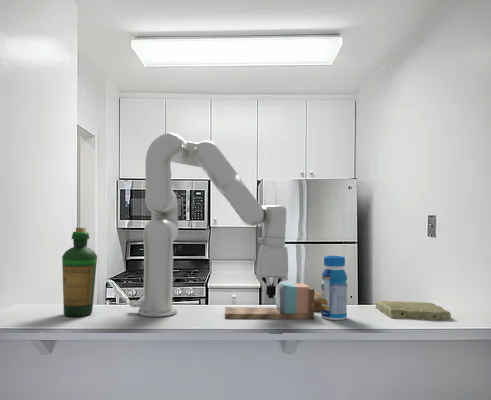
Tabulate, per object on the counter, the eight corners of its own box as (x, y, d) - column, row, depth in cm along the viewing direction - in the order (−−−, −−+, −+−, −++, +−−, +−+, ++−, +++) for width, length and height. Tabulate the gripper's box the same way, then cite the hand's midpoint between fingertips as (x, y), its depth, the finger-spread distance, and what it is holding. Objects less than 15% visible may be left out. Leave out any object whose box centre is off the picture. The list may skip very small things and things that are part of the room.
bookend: (279, 312, 140) (280, 288, 140) (276, 307, 149) (276, 284, 149) (284, 312, 140) (284, 288, 140) (280, 307, 149) (281, 284, 149)
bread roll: (324, 323, 150) (334, 302, 150) (297, 308, 152) (307, 288, 151) (323, 316, 160) (333, 297, 160) (298, 303, 161) (307, 284, 161)
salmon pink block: (296, 313, 140) (296, 287, 141) (292, 308, 148) (293, 283, 149) (308, 313, 141) (309, 287, 141) (304, 308, 149) (304, 283, 149)
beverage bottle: (341, 322, 136) (342, 258, 137) (316, 318, 141) (317, 256, 141) (350, 317, 143) (351, 256, 144) (326, 313, 148) (327, 254, 149)
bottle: (52, 317, 136) (55, 227, 137) (73, 310, 147) (76, 227, 148) (82, 319, 134) (85, 228, 135) (102, 312, 144) (104, 227, 145)
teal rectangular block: (284, 313, 140) (284, 286, 141) (281, 308, 148) (281, 283, 148) (296, 313, 140) (296, 287, 141) (292, 308, 148) (293, 283, 149)
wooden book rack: (225, 318, 138) (225, 288, 139) (225, 311, 148) (225, 283, 149) (313, 319, 140) (314, 289, 140) (308, 312, 150) (308, 284, 150)
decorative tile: (375, 308, 160) (375, 299, 160) (430, 310, 159) (430, 300, 159) (390, 320, 141) (390, 309, 141) (453, 322, 141) (453, 311, 141)
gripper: (252, 241, 141) (248, 298, 140) (297, 244, 142) (294, 300, 141) (250, 240, 148) (247, 294, 148) (294, 242, 149) (291, 296, 148)
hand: (270, 297), depth 144 cm, fingers closed
